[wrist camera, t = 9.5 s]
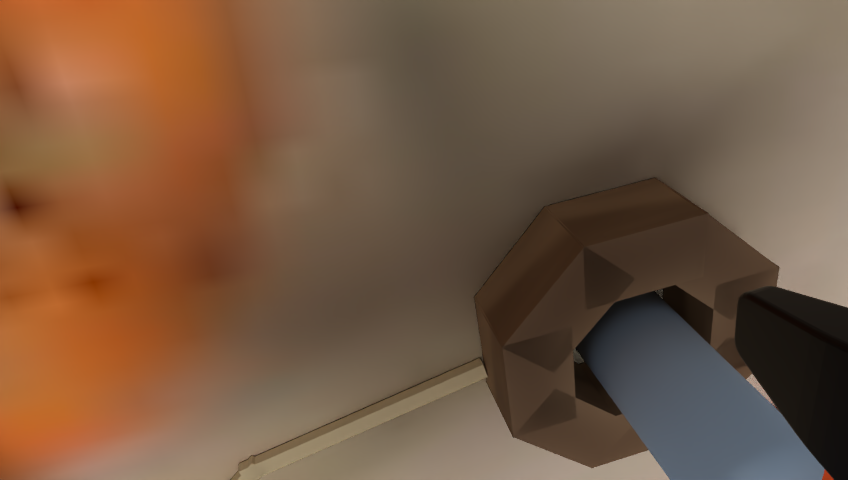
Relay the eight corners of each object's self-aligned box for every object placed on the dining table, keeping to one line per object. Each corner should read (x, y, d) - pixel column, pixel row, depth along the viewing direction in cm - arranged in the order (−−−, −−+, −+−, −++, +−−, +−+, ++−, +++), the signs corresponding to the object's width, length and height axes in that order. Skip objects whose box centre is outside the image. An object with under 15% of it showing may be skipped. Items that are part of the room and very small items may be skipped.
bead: (729, 157, 22) (791, 190, 20) (710, 367, 27) (757, 415, 25) (463, 227, 21) (492, 271, 18) (493, 433, 26) (519, 491, 23)
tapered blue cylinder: (645, 256, 24) (835, 425, 16) (643, 330, 25) (813, 515, 18) (556, 280, 23) (707, 467, 15) (561, 354, 25) (698, 555, 17)
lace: (456, 326, 23) (459, 332, 23) (487, 368, 24) (491, 375, 24) (130, 531, 24) (128, 541, 24) (177, 561, 25) (176, 571, 25)
